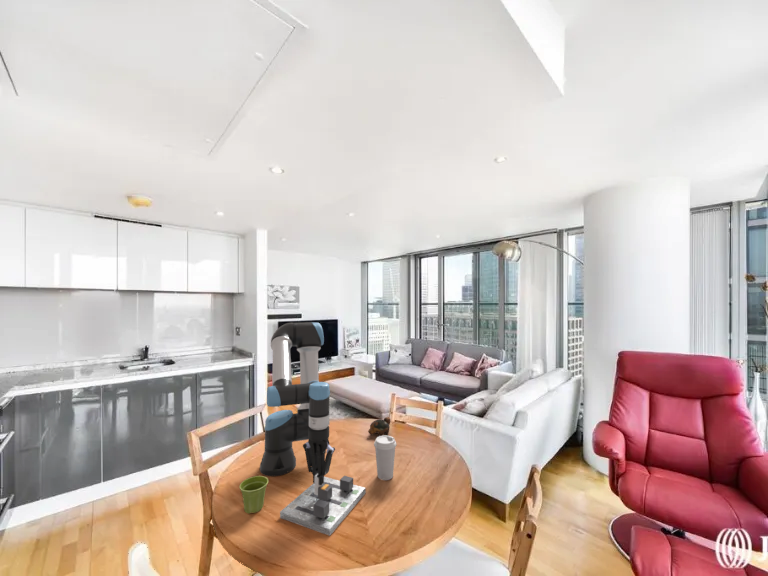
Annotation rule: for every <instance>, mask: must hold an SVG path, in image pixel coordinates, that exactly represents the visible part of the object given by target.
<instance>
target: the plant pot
mask: <svg viewBox="0 0 768 576" xmlns="http://www.w3.org/2000/svg"><path fill="white" fill-rule="evenodd" d="M268 483H269V478H268V477H266V476H265V475H264V476H263V475H256V476H255V475H254V476H251V477H249V478H246V479H244V480H242V482H241V483H239V490H240V493H241V495H242V501H243V509H244V512H245V513H246V514H248V515H249V514H256V513H258V512H260V511H261V510H262V509H263V507H264V503H265V502H264V501H265V494H266V489H267V485H268Z"/></svg>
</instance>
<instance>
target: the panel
mask: <svg viewBox="0 0 768 576" xmlns="http://www.w3.org/2000/svg"><path fill="white" fill-rule="evenodd" d="M323 484H328V485H329V486H332V497H331V498H330V499H329V500H328V501H326V502H329V514H328V515H327V516H326V517H325V518H324V519H323V518H320V517H317V516H314V504H315V503H316V502H317V501H318V500H319V499H318V495H315V494H314V483H313V482H312V484H311V485H309V487H307V488H306V489H305V490H304V491H302V492H301V494H299V495H298V496H297V497H295V498H294V500H292V501H291V502H290V503H288V504H287V505H286V506H285V507H284V508H282V509H281V510H280V511H279V518H280V519H282V520H284V521H288V522H290V523H293V524H296V525H299V526H301V527H304V528H307V529H309V530H311V531H315V532H318V533H321V534H323V535H327V536H328V537H329V536H332V534H333V533H334V532H335V530H336V529H337V528H338V527H339V526H340V525H341V523H342V522H343V521H344V520H345V519H346V518H347V516H348V515H349V514H350V513H351V511H352V510H353V509H354V508H355V507H356V505H357V504H358V503H359V502H360V501H361V499H362V498H363V497H364V496H365V495H366V493H367V492H366V489H367V488H366V487H364V486H360V485H357V484H353V488H352V489H351V490H350V491H349V492H348V491H345V490H341V489H340V479H339V480H338V479H334V478H331V477H327V476H324V483H323ZM320 500H321V499H320ZM323 501H325V500H323Z"/></svg>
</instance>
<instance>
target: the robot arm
mask: <svg viewBox="0 0 768 576" xmlns="http://www.w3.org/2000/svg"><path fill="white" fill-rule="evenodd" d="M324 342H325V337H324V329H323V327H322V324H321V323H319V322H312V321H309V322H307V321H306V322H287V323H284V324H283V325H281V326H279V327H278V328H277V329H276V330H275V332H274V333H273V334H272V337H271V339H270V348H271V350H272V381H271V382H272V384H271V386H268V387H267V388H266V406H267V407H271V408H274V407H276V408H277V407H279V408H280V407H282V406H283V407H285V406H292V405H293V406H294V405H299V406H298V408H297V409H296V411H297V413H294V412H293V410H291V409H283V410H278V411H275V412H273V413H270V414H269V415H268V416H267V417H266V418H265V421H264V450H263V451H264V452H263V454H262V457H261V462H260V465H259V472H260V474H261V475H262V476H263V475H264V476H265V477H266V476H267V477H278V476H279V477H280V476H283V475H285V474H288V473H290V472H292V471H293V470H294V469H295V468H296V466H297V458H296V456H295V451H294V449H293V443H294V442H300V441H306V442H305V443H303V444H302V447H303V449H304V453H305V454H304V455H305V458H306V464H307V465H306V466H307V471H308V472H309V473H311V474H312V484H313V483H314V494H315V495H318V488H319V487H320V486H321V485H322V484H323V483H324V477H326V475H327V474H328V473H329V472H330V467H331V463H332V459H333V454H334V452H335V451H336V447H335V446H334V447H332V446H331V445H330V444H331V443H330V440H329V439H330V398H331V397H330V396H331V395H330V394H331V391H330V384H329V383H328V382H325V381H320V380H319V379H320V378H319V351H320V350H321V349H322V348H321V347H322V346H323V345H324V344H325V343H324ZM292 347H296V351H297V352H298V353H299V363H300V365H299V366H300V367H299V371H300V373H299V374H300V375H299V377H300V383H298V384H297V383H296V384H293V381H292V379H293V377H292V359H291V348H292Z"/></svg>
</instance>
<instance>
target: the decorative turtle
mask: <svg viewBox="0 0 768 576" xmlns="http://www.w3.org/2000/svg"><path fill="white" fill-rule="evenodd" d="M390 425H391V418H390V417H388V416H387V417H384V419H382V418H379V419H375V420H374V421H372V422H371V423H370V425H369V429H368V431H367V432H368V434H369V435H371V436H372V435H375V434H378V436H384V434H385V435H388V434H389V432H390Z"/></svg>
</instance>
